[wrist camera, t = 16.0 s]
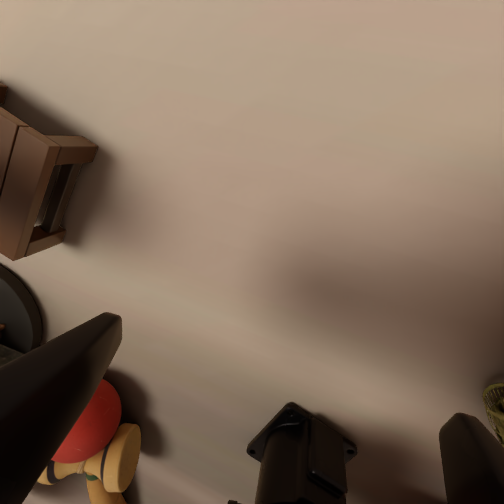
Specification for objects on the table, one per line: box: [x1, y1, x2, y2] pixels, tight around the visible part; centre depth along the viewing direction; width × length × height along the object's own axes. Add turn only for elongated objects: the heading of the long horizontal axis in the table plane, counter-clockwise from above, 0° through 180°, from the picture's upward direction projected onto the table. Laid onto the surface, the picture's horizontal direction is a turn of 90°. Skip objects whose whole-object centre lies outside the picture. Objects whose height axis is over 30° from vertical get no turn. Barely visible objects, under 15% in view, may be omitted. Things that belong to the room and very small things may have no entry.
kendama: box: [37, 379, 141, 504], centre depth 27 cm, size 8×6×18 cm
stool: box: [0, 82, 98, 261], centre depth 20 cm, size 8×8×4 cm
